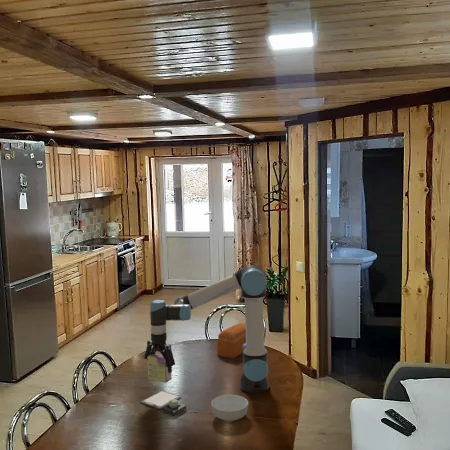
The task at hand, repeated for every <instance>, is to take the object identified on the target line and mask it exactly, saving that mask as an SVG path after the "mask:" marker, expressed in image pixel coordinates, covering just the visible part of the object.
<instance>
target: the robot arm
mask: <svg viewBox="0 0 450 450" xmlns="http://www.w3.org/2000/svg"><path fill="white" fill-rule="evenodd" d="M267 283H268V282H267V276H266V275H265V272H264V271H263V269H262V268H261V267H260V266H258V265H256V264H249V265H248V264H247V265H246V266H245V267H242V268H239V269H238V270H236V271H233V273H232V275H230V276H227V277H224V278H223V279H221V280H219V281H218V280H217V281H216V282H213V283H212V284H209V285H207V286H204V287H202V288H200V289H198V290H196V291H194V292H191V293H188V294H186V295H184V296H178V297H177V298H176V299H175V300H174V303H173V304H167V303H166V300H163V299H155V300H152V301H151V302H150V305H149V307H150V308H149V313H150V314H149V316H150V339H149V340H147V342H146V344H147V345H146V349H145V352H144V357H143V358H144V359H145V360H147V356H149V355H152V354H155V353H156V352H158V353H159V354H162V356H163V358H164V359H166V364H167V366H166V380H168V379H171V372H172V373H173V366H174V365H176V362H175V361H176V360H175V358H174V355H173V351H172V345H171V344H167V342H166V341H167V336H168V335H167V334H168V333H167V321H182V322H184V321H190V320H191V318H192V317H191V316H192V310H193V309H196V308H198V307H200V306H203V305H204V304H207V303H210V302H211V301H213V300H214V301H215V300H216V299H218V298H220V297H223V296H225V295H228V294H230V293H232V292H235V291H237V290H240V292H241V297H242V298H243V300H244V310H245V311H244V312H245V313H244V314H245V315H244V320H245V324H246V343H245V344H243V349H242V350H243V353H242V374H241V378H240V381H239V388H240V389H241V391H243V392H246V393H251V394H257V393H259V394H260V393H263V392H266V391H267V390H269V388H270V382H269V378H268V374H269V366H268V350H267V349H266V346H265V341H264V338H265V337H264V332H265V331H264V302H263V301H264V299H265V297H266V295H267V291H266V289H267V288H266V287H267ZM169 363H170V364H169ZM171 380H172V379H171Z"/></svg>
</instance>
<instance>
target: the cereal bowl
mask: <svg viewBox="0 0 450 450" xmlns="http://www.w3.org/2000/svg"><path fill="white" fill-rule="evenodd" d="M210 404H211V405H210V406H211V412H212V413H213V416H215V417H216V418H218V419H220V420H223V421H226V422H234V421H237V420H240V419H242V418H244V417H245V416H246V414H247V413H248V409H249V400H248V399H247V398H245V397H244V396H241V395H238V394H223V395H218V396H216V397H215V398H213V399H212V400H211V403H210Z"/></svg>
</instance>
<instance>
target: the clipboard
mask: <svg viewBox="0 0 450 450" xmlns="http://www.w3.org/2000/svg"><path fill="white" fill-rule="evenodd" d="M181 398H182V396H180V395H177V394H174V393H172V392H168V391H164V390H160V391H158V392H157V393H155V394H152V395H150V396H148V397H147V398H145V399H142V400H141V401H140V404H143V405H146V406H147V407H148V406H149V407H151V408H154V409H157V410H159V411H160V410H161V411H162V407H163V406H165V405H167V404H169V401H170V400H173V399H176V400H178V401H179V399H181Z"/></svg>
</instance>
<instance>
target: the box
mask: <svg viewBox="0 0 450 450" xmlns="http://www.w3.org/2000/svg"><path fill="white" fill-rule="evenodd" d="M146 361H147V380H149V381H155V382H159V383H164V384H166V383H168V382H170V381H171V380H172V379H173V377H172V373H173V371H172V372H171V379H168V380H166V366H167V364H166V359H164V358H163V356H162V354H161V353H159V352H158V353H156V352H155V354H152V355H149V356H147V359H146ZM169 364H170V363H169Z"/></svg>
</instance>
